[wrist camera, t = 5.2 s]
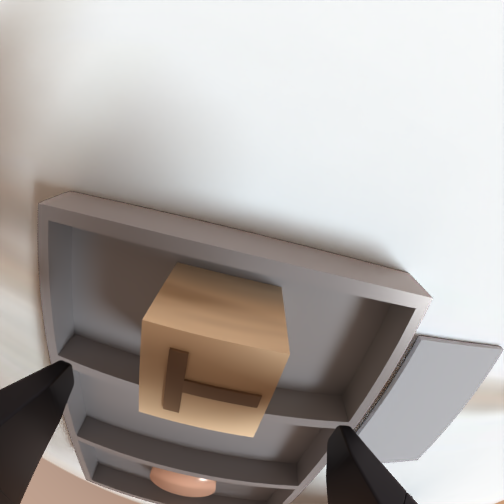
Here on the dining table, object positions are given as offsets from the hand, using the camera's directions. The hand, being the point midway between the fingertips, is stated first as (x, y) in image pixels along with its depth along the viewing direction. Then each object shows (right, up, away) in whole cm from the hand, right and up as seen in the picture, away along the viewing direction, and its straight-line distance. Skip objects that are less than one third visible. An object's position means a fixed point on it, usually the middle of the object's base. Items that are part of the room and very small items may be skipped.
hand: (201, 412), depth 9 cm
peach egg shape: (-4, -12, +10) cm, 16 cm away
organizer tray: (-2, -5, +8) cm, 10 cm away
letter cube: (0, +2, +5) cm, 6 cm away
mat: (+13, -6, +8) cm, 16 cm away
